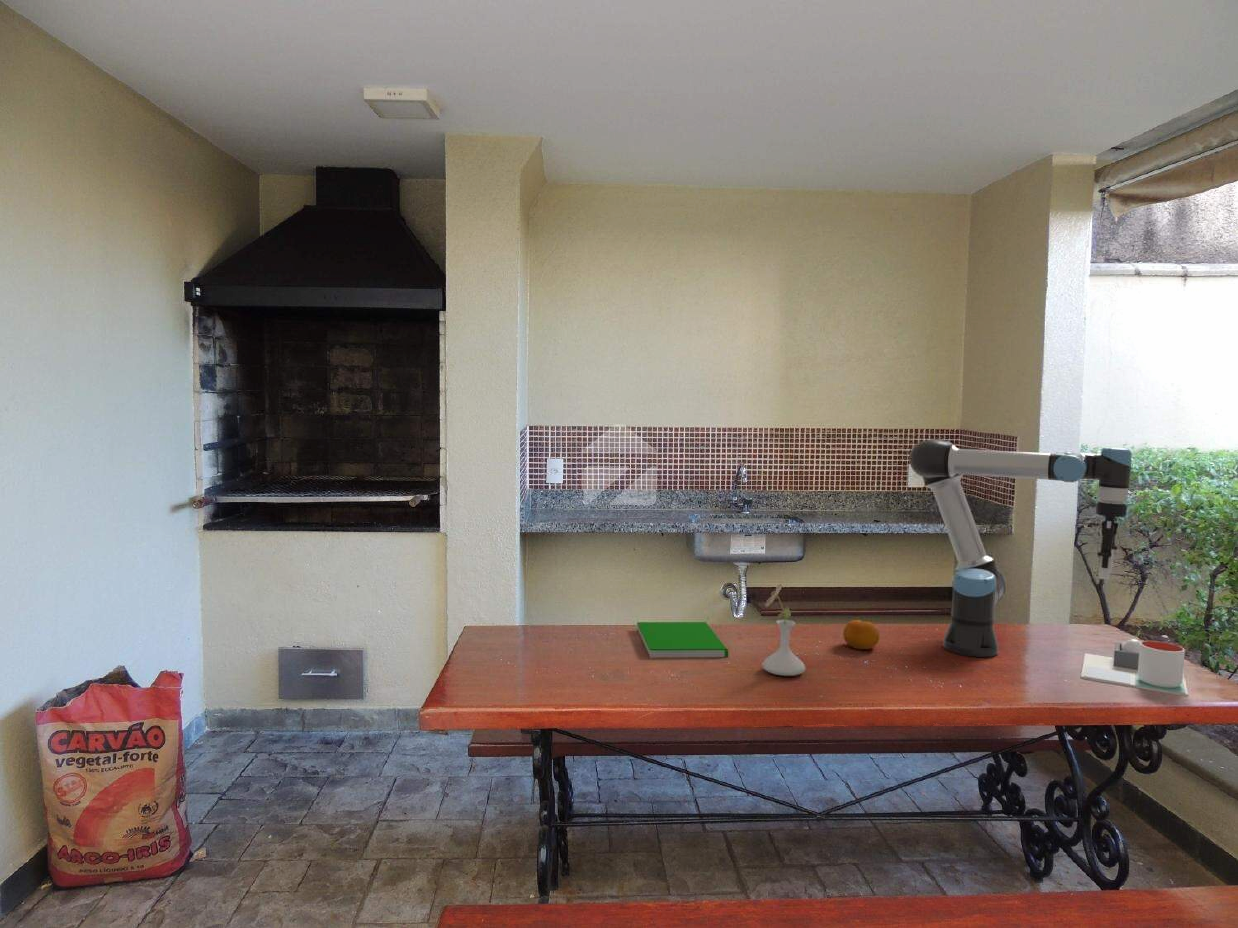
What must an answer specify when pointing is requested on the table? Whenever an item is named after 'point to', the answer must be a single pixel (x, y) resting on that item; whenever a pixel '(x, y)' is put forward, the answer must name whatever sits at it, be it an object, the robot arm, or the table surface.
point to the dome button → (1131, 645)
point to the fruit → (861, 634)
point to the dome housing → (1125, 658)
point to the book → (680, 639)
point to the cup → (1161, 664)
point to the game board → (1121, 675)
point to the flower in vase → (783, 645)
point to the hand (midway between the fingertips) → (1105, 575)
